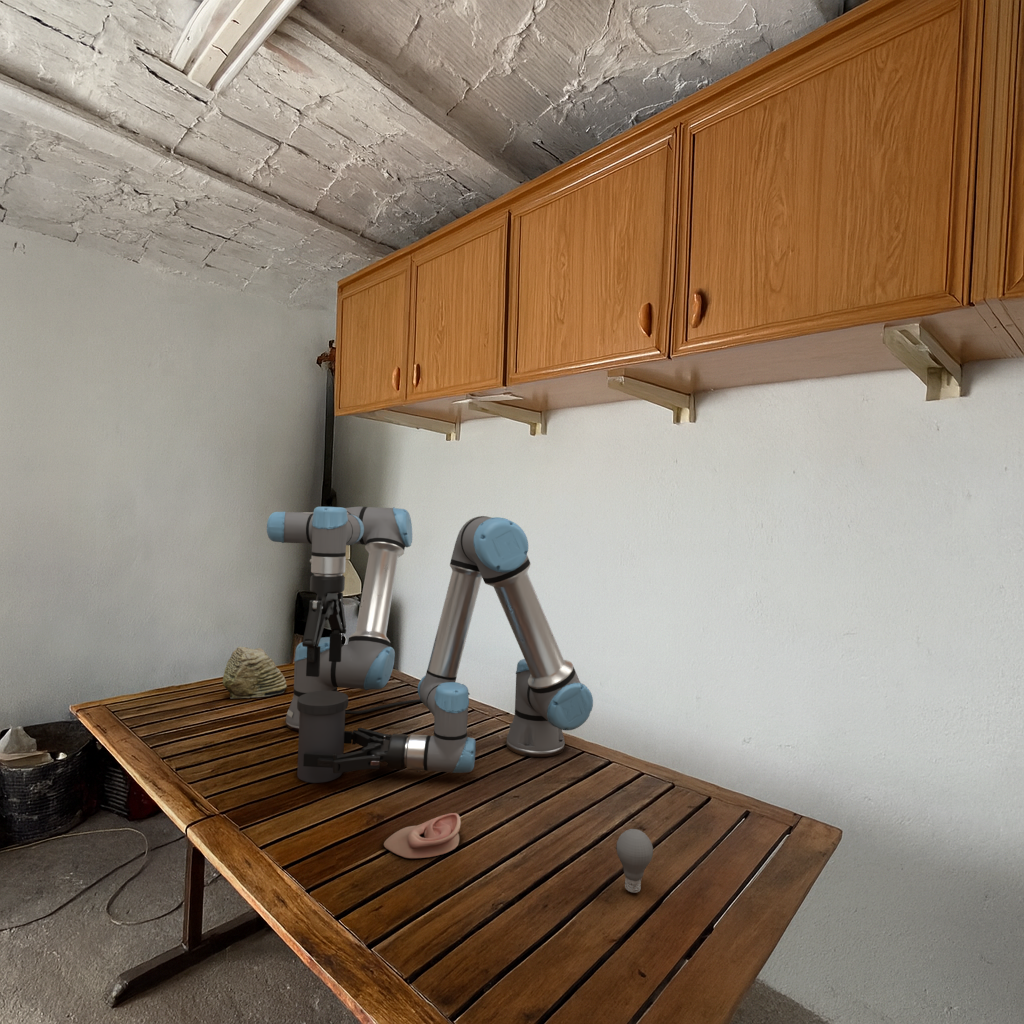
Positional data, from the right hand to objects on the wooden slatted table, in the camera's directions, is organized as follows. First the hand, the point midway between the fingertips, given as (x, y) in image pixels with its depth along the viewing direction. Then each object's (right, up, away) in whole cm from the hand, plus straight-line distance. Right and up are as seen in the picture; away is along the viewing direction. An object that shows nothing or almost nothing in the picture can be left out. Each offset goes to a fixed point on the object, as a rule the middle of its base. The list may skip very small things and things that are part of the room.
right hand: (314, 747), depth 144 cm
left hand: (+2, +18, 0) cm, 18 cm away
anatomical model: (+28, -8, -27) cm, 40 cm away
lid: (+2, +11, 0) cm, 11 cm away
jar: (+1, -6, +1) cm, 6 cm away
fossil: (-36, -4, +54) cm, 64 cm away
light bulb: (+65, -10, -39) cm, 76 cm away
